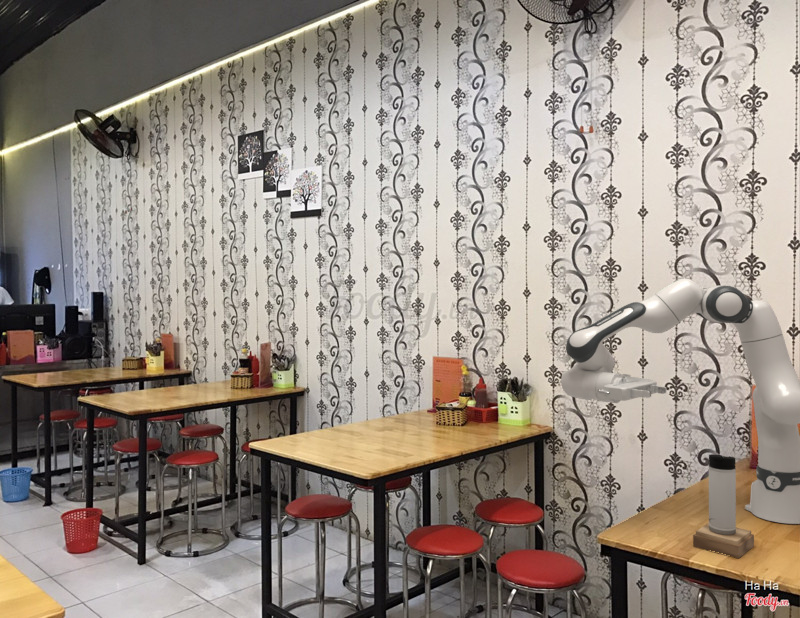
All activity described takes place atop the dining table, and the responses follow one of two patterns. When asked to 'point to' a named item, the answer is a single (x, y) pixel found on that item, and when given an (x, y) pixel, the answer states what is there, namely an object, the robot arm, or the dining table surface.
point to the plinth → (724, 541)
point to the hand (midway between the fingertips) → (657, 392)
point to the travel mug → (722, 494)
